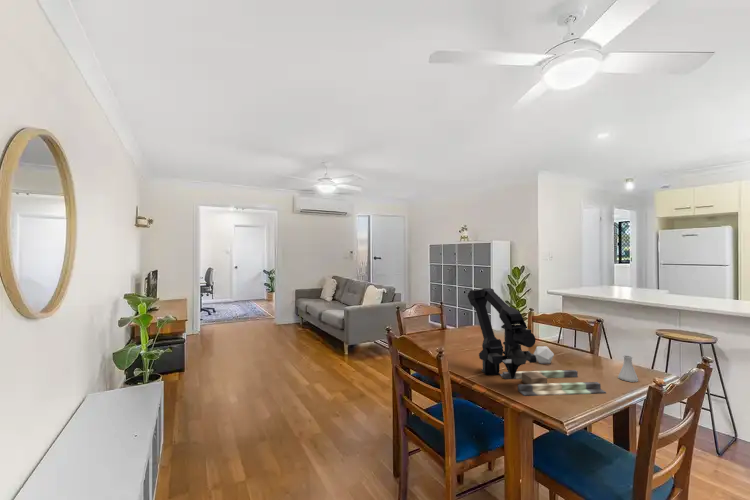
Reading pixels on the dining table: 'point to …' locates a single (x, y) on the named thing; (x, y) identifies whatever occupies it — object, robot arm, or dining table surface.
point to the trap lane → (556, 384)
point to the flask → (628, 370)
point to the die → (543, 354)
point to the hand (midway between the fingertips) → (512, 378)
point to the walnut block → (533, 378)
